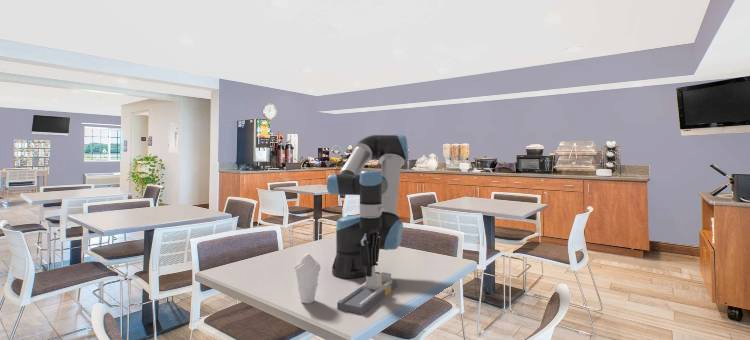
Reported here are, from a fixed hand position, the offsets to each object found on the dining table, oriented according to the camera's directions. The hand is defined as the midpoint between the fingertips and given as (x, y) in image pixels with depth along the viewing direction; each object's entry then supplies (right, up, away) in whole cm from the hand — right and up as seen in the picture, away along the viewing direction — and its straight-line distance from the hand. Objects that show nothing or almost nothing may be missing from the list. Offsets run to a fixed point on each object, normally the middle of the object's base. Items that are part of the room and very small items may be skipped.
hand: (370, 284), depth 123 cm
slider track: (0, -4, -1) cm, 4 cm away
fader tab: (+1, -2, +2) cm, 3 cm away
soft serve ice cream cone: (-21, -4, -5) cm, 21 cm away
